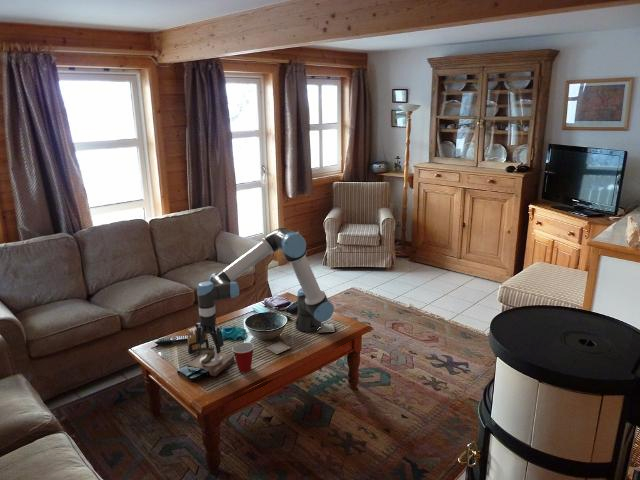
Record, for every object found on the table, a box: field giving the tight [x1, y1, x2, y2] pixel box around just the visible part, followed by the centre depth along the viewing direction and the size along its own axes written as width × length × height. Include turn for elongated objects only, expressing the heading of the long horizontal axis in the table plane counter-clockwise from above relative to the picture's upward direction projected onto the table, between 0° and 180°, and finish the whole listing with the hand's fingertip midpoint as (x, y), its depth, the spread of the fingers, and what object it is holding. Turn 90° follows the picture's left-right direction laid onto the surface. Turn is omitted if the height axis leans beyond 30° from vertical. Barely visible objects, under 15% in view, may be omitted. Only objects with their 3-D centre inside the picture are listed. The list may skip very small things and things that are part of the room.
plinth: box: [187, 352, 235, 377], centre depth 235 cm, size 16×16×3 cm
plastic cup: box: [231, 342, 255, 373], centre depth 229 cm, size 11×11×12 cm
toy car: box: [221, 325, 247, 341], centre depth 263 cm, size 11×18×7 cm, turn 93°
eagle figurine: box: [196, 345, 215, 364], centre depth 232 cm, size 8×7×9 cm
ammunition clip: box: [187, 327, 210, 354], centre depth 248 cm, size 11×2×12 cm, turn 123°
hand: (210, 357), depth 234 cm, fingers closed on eagle figurine, 7 cm apart
